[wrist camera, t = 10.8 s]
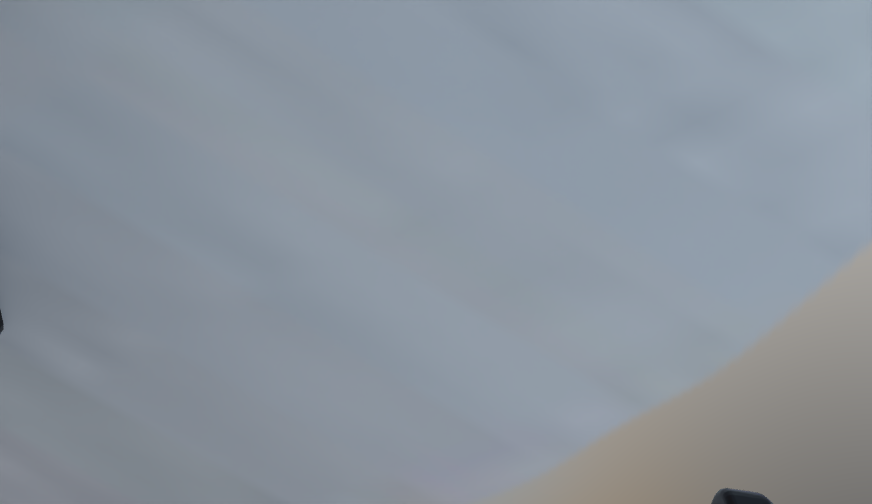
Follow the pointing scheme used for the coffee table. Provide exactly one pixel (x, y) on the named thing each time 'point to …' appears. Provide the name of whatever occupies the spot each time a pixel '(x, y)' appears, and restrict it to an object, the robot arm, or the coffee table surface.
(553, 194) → the coffee table surface
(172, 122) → the coffee table surface
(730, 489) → the robot arm
